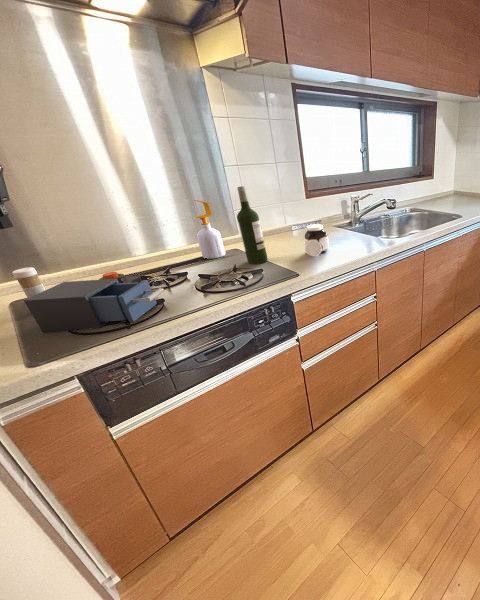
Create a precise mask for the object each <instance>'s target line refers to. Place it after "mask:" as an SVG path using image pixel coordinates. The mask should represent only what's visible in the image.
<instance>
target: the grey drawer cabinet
mask: <svg viewBox="0 0 480 600" xmlns="http://www.w3.org/2000/svg"><path fill="white" fill-rule="evenodd" d="M112 284H119V282H118V280H117V279H103V280H99V279H89V280H88V279H87V280H70V281H62V282H60V283H59V284H56V285H54V286H52V287H50V288H47V289H46V290H45V291H43V292H41V293H39V294H37V295H34V296H32V297H30V298H26V299H24V300H23V302H24V303H25V305H26V307H27V308H28V310H29V312H30V314H31V315H32V318H33V319H34V320H35V322H36V324H37V326H38V327H39V329H40V331H41V332H42V333H50V332H52V333H53V332H63V331H65V332H66V331H74V330H73V329H80V330H90V329H89V328H93V329H101V328H103V327H104V326H105V325H106V323H107V322H100V321H99V319H98V317H97V315H96V313H95V311H94V309H93V307H92V305H91V303H90V301H89V299H88V298H89V297H90V296H92V295H94V294H96V293H98V292H99V291H101V290H103V289H105V288H106V287H108V286H110V285H112ZM108 323H110V322H109V321H108ZM108 323H107V324H108ZM100 327H101V328H100Z"/></svg>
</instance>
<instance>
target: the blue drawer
mask: <svg viewBox="0 0 480 600" xmlns="http://www.w3.org/2000/svg"><path fill="white" fill-rule="evenodd" d="M164 292H165V290H164V287H159V288H157V289H156V288H155V289H152V288H151V285H150V283H149V280H148V279H147V280H146V279H144V280H142V282H140V283H139V284H138V282H136V283H120V284H112V285H110V286H108V287H106V288H105V289H103V290H101V291H99V292H98V293H96V294H94V295H92V296H90V297H89V298H88V299H89V301H90V303H91V305H92V307H93V309H94V311H95V313H96V315H97V317H98V319H99V321H100V322H108V321H110V322H118V321H119V322H120V321H126V320H128V323H132V322H133V323H134V322H135V321H137V320H138V319H139V318H141V317H142V316H143V315H144V314H146V313H147V312H148V311H149V310H151V309H152V308H153V307H155V306H156V305H157V304H158V303H157V300H156V298H157V297H158V296H160V295H161V294H162V293H164ZM108 323H109V322H108Z"/></svg>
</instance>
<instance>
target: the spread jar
mask: <svg viewBox="0 0 480 600" xmlns="http://www.w3.org/2000/svg"><path fill="white" fill-rule="evenodd" d="M303 240H304V246H305V247H304V250H305V252H306V254H307V255H308V256H310V257H317V256H319V255H320V254H324V253H326V252H327V251H328V249H329V247H330V242H329V235H328V233H327V232H326V231H325V230H324V226H323V224H319V223H318V224H317V223H314V224H309V225H307V226H306V232H305V233H304V236H303Z"/></svg>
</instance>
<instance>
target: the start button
mask: <svg viewBox="0 0 480 600" xmlns="http://www.w3.org/2000/svg"><path fill="white" fill-rule="evenodd" d="M118 274H119V273H118V272H117V271H108V272H105V273H102V274H101V275H102V277H103V278H104V279H114V278H117V277H119V276H118Z"/></svg>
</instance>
